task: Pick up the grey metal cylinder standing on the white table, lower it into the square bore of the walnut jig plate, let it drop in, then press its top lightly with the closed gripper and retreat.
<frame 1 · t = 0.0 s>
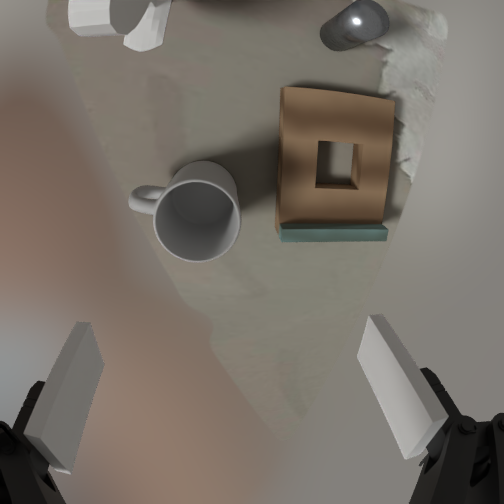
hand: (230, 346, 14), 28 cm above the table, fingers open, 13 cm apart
heart sculpture: (151, 4, 28), on the table
mug: (189, 190, 39), on the table
jig: (331, 161, 39), on the table
grey metal cylinder: (336, 35, 32), on the table
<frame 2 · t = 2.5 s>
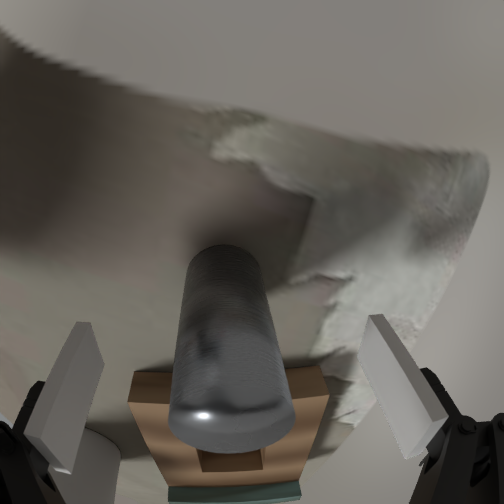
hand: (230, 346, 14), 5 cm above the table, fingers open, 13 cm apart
mug: (71, 438, 26), on the table
jig: (229, 433, 26), on the table
grey metal cylinder: (223, 279, 19), on the table
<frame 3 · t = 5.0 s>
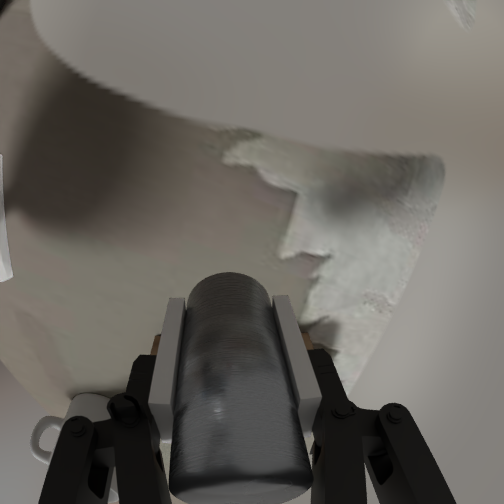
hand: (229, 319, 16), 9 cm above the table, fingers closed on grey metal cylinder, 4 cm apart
mug: (90, 410, 32), on the table
grey metal cylinder: (228, 309, 17), point 9 cm above the table, touching gripper
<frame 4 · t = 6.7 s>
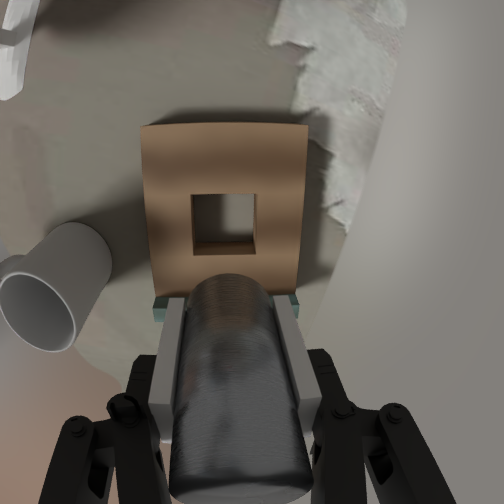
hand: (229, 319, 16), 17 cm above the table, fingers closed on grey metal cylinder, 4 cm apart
heart sculpture: (14, 41, 20), on the table
mug: (65, 254, 31), on the table
jig: (223, 214, 31), on the table
grey metal cylinder: (228, 310, 16), point 16 cm above the table, touching gripper
when the fingers open (4 cm above the table, at t = 8.5 s): grey metal cylinder drops 3 cm, resting in jig.
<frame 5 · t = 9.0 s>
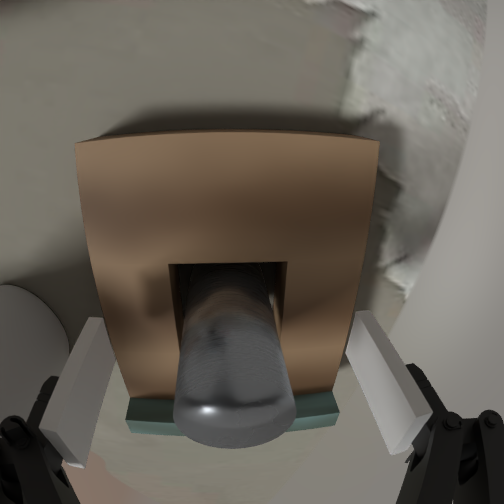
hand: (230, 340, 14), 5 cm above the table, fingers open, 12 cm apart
mug: (10, 322, 19), on the table
jig: (227, 283, 19), on the table
grey metal cylinder: (226, 281, 19), resting in jig
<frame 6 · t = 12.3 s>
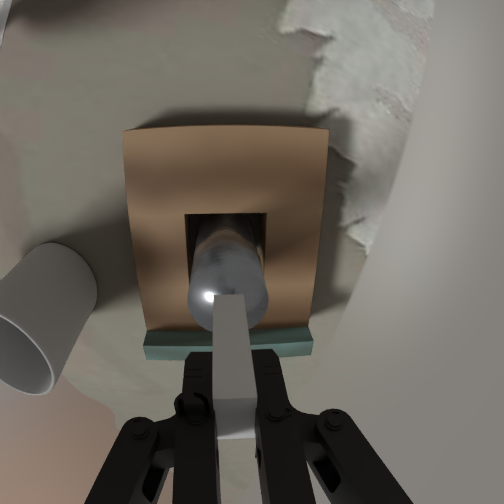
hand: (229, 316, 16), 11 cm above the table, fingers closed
mug: (46, 277, 26), on the table
jig: (225, 235, 26), on the table
grey metal cylinder: (225, 234, 26), resting in jig
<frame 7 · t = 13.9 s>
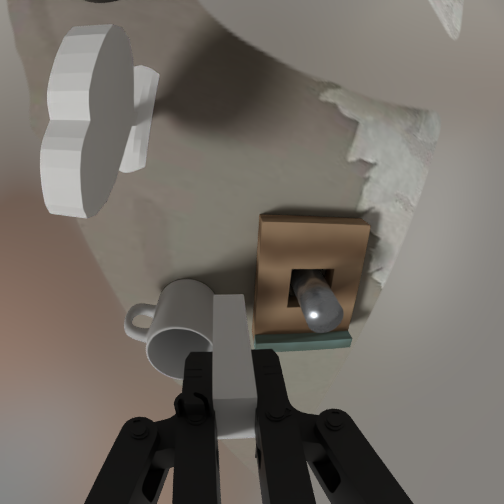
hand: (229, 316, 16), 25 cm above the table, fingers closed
heart sculpture: (132, 118, 34), on the table
mug: (176, 301, 44), on the table
jig: (305, 278, 44), on the table
grey metal cylinder: (305, 277, 44), resting in jig
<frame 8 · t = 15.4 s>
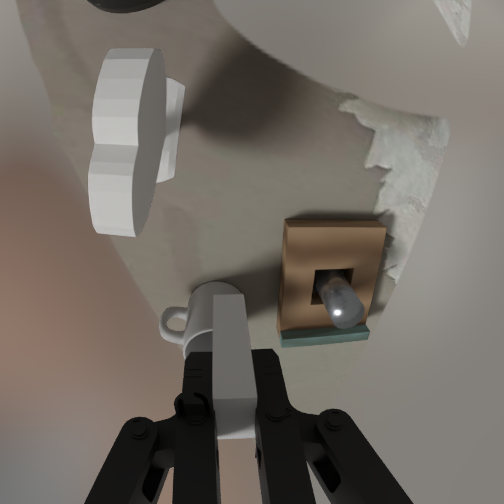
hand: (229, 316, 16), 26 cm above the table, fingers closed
heart sculpture: (159, 130, 36), on the table
mug: (205, 302, 47), on the table
jig: (326, 276, 47), on the table
grey metal cylinder: (326, 275, 47), resting in jig
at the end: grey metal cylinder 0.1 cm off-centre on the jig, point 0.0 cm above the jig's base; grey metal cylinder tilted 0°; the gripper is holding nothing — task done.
